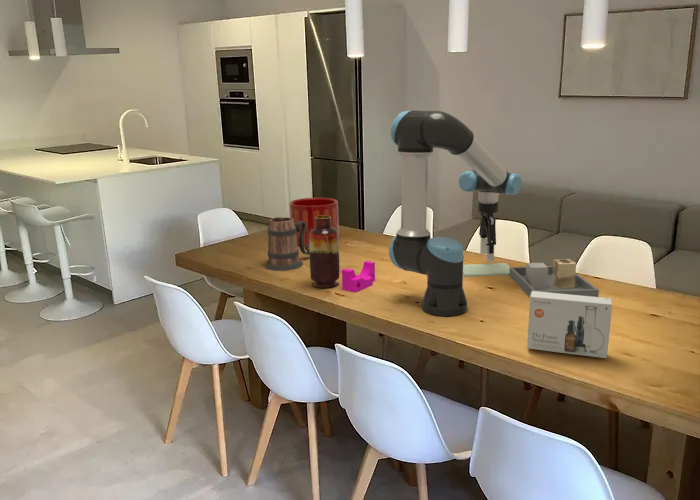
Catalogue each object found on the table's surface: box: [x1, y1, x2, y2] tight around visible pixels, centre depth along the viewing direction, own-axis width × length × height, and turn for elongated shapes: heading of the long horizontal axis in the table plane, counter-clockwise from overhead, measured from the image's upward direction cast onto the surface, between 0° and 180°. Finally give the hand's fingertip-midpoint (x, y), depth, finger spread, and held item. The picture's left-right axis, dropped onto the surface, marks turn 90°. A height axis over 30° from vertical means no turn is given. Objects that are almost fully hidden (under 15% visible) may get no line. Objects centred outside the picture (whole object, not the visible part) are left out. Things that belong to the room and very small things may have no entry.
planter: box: [288, 197, 340, 248], centre depth 300 cm, size 23×23×20 cm
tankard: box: [264, 216, 310, 272], centre depth 265 cm, size 24×17×20 cm
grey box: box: [525, 262, 548, 289], centre depth 227 cm, size 6×6×8 cm
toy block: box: [341, 260, 376, 293], centre depth 236 cm, size 15×6×8 cm, turn 140°
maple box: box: [552, 258, 577, 288], centre depth 227 cm, size 6×6×9 cm
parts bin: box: [508, 265, 600, 298], centre depth 228 cm, size 30×22×4 cm
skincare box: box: [526, 291, 613, 359], centre depth 173 cm, size 21×5×16 cm, turn 69°
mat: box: [463, 262, 511, 278], centre depth 250 cm, size 14×20×1 cm
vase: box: [308, 215, 341, 289], centre depth 235 cm, size 11×11×26 cm
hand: (486, 257), depth 249 cm, fingers open, 10 cm apart
